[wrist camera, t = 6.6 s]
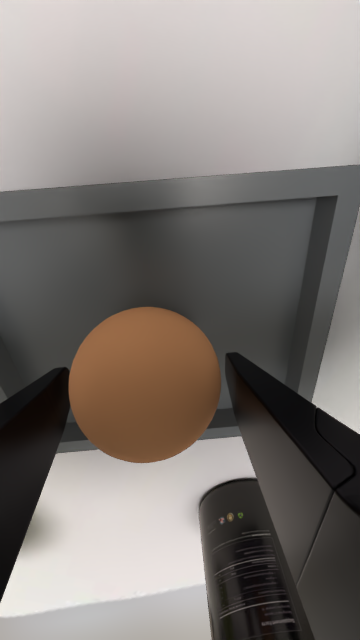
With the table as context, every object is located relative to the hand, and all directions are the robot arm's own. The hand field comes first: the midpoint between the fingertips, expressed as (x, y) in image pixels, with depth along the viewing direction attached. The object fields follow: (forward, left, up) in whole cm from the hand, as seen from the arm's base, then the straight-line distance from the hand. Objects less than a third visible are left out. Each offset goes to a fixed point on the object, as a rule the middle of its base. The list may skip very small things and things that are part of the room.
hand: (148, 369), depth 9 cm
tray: (0, 0, -3) cm, 3 cm away
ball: (0, 0, 0) cm, 0 cm away
